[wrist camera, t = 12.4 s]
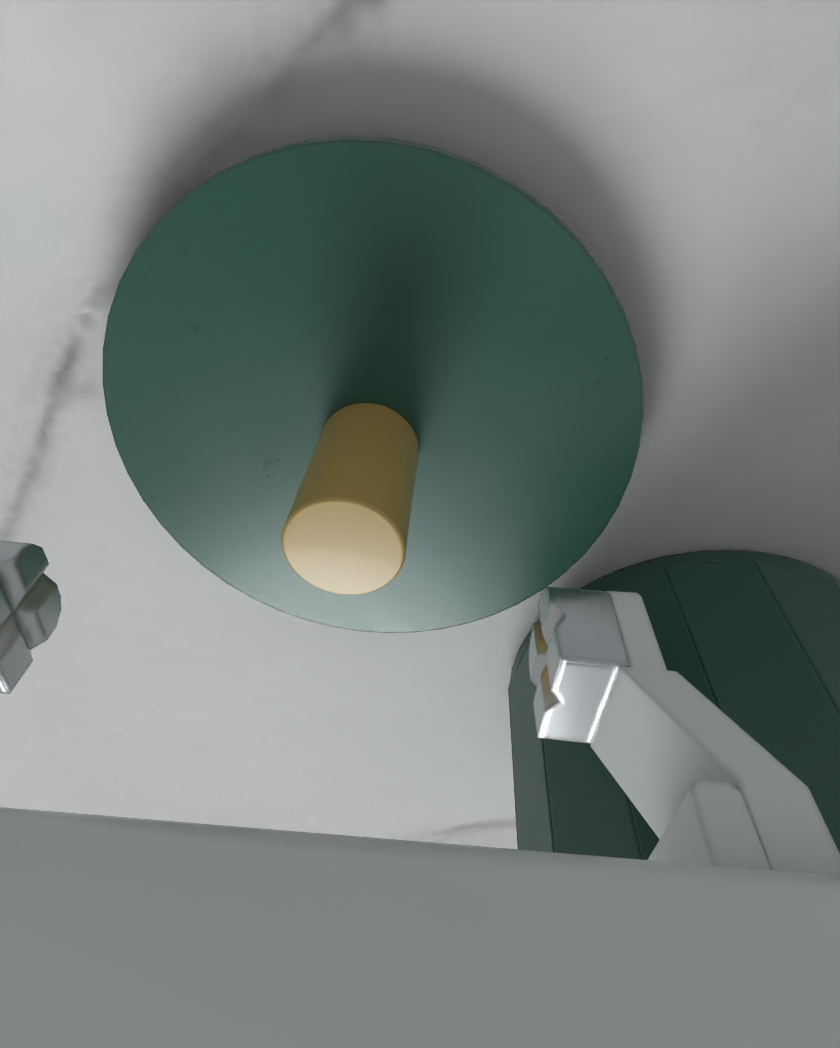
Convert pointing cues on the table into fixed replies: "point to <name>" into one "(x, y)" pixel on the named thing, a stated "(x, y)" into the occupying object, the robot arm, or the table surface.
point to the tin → (718, 673)
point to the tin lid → (373, 385)
